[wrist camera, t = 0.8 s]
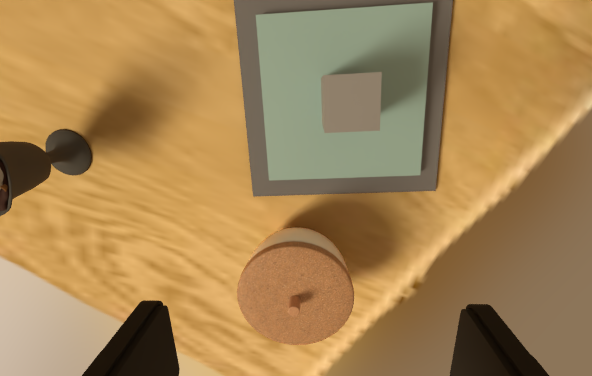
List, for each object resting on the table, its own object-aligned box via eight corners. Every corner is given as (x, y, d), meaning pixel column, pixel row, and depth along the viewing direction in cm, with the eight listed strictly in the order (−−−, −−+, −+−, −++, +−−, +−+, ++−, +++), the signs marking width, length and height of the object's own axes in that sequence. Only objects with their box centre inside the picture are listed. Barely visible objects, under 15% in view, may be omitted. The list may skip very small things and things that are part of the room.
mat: (234, -6, 28) (233, -7, 27) (453, -22, 26) (454, -23, 26) (253, 195, 33) (253, 196, 33) (434, 189, 32) (435, 190, 32)
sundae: (100, 128, 32) (-70, 160, 18) (98, 188, 34) (-55, 259, 20) (37, 113, 32) (-185, 133, 18) (39, 174, 34) (-158, 236, 20)
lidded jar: (362, 235, 34) (379, 287, 25) (321, 307, 38) (323, 376, 29) (273, 196, 33) (259, 236, 25) (239, 274, 37) (215, 333, 28)
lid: (257, 17, 28) (236, -10, 20) (428, 5, 27) (474, -28, 19) (270, 177, 32) (257, 205, 25) (417, 172, 31) (450, 199, 24)
